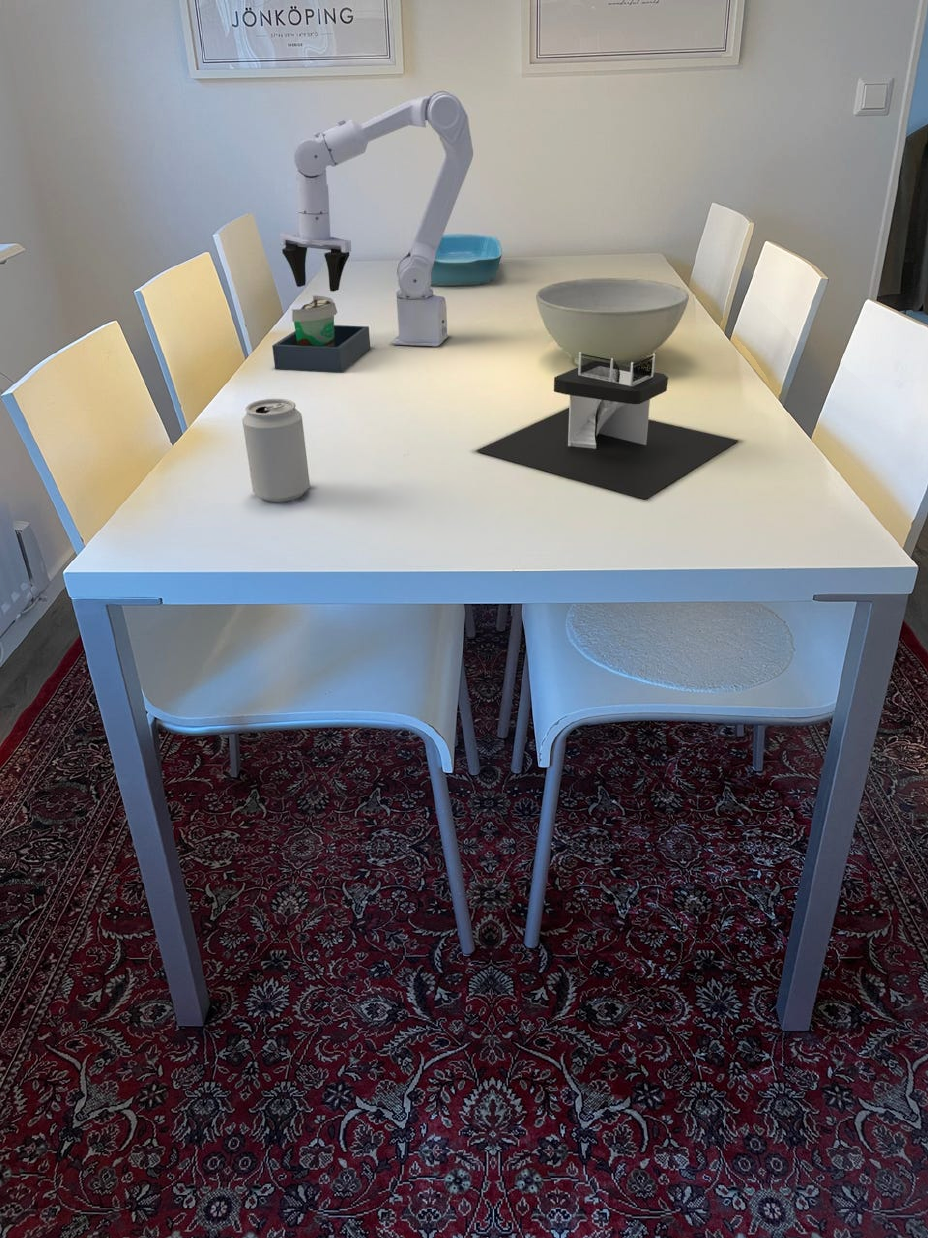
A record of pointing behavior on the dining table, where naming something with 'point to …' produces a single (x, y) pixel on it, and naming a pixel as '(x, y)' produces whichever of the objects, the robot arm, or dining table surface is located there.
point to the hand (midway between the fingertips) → (317, 288)
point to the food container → (315, 322)
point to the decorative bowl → (611, 316)
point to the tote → (323, 351)
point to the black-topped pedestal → (610, 432)
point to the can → (276, 450)
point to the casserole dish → (466, 260)
